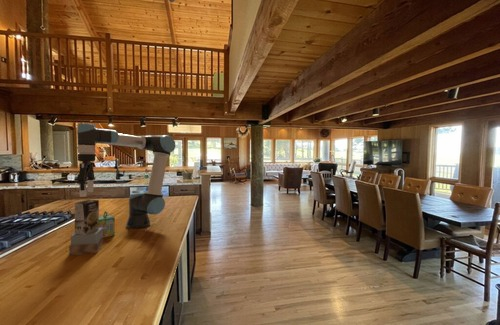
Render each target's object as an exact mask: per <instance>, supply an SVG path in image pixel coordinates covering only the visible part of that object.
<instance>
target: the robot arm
mask: <svg viewBox="0 0 500 325" xmlns="http://www.w3.org/2000/svg"><path fill="white" fill-rule="evenodd" d="M76 129H77V132H76V134H77V146H76V150H77V161H78V162H81V163H79V172H78V180H77V182H76V183H77V185H79V198H83V197H84V198H85V197H86V198H87V194H88V193H94V181H96V178H95V172H94V162H95V161H96V144H102V145H111V146H122V147H131V148H137V149H139V150H144V151H149V152H152V154H153V161H152V166H151V172H150V177H149V181H148V182H149V183H148V187H147V190H146V191H145V192H144V191H143V192H135V193H131V194H130V195H129V197H128V201H129V202H128V204H129V206H128V210H129V211H128V213H129V215H128V219H127V221H126V224H125V225H126V226H125V227H126V229H130V230H138V229H145V228H147V227H149V225H150V226H151V220H150V217H149V215H156V216H157V215H159V214H160V213H161V212H163V211H164V210H165V207H166V206H165V205H166V201H165V199H164V198H163V197H164V195H163V193H162V188H163V185H164V184H163V183H164V178H165V173H166V167H167V163H168V158H169V157H171V154H172V153H173V152H174V151H175V149H176V141H175V139H174V138H173V137H172V136H171V135H168V134H163V135H162V134H160V135H159V134H158V135H155V134H154V135H133V134H132V135H131V134H125V133H124V134H123V133H119V132H118V131H117V130H115V129H107V128H96V125H95V124H93V123H87V122H80V123H78V124H77V128H76Z"/></svg>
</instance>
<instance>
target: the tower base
mask: <svg viewBox="0 0 500 325" xmlns="http://www.w3.org/2000/svg"><path fill="white" fill-rule="evenodd" d="M103 244H104V238H103V237H102V238H101V239H100V240H99V241H98V242H97V243H96V244H85V245H71V244H70V245H69V246H68V249H69V250H68V255H69V256H77V255H87V254H88V255H89V254H98V252H99V251H100V249H101V248H102V246H103Z"/></svg>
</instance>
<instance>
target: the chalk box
mask: <svg viewBox="0 0 500 325" xmlns="http://www.w3.org/2000/svg"><path fill="white" fill-rule="evenodd" d="M115 223H116V221H115V216H113V215H112V214H108V211H106V210H105V211H104V212H103V215H99V228H102V227H103V239H104V238H109V237H114V236H115Z"/></svg>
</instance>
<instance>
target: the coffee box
mask: <svg viewBox="0 0 500 325" xmlns="http://www.w3.org/2000/svg"><path fill="white" fill-rule="evenodd" d="M99 202H100V201H99V200H98V199H87V200H82V201H77V202H74V233H75V234H81V235H86V234H89V233H91V232H94V231H96V230H99V216H100V215H99V214H100V213H99V211H100V209H99V208H100V206H99V205H100V203H99Z"/></svg>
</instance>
